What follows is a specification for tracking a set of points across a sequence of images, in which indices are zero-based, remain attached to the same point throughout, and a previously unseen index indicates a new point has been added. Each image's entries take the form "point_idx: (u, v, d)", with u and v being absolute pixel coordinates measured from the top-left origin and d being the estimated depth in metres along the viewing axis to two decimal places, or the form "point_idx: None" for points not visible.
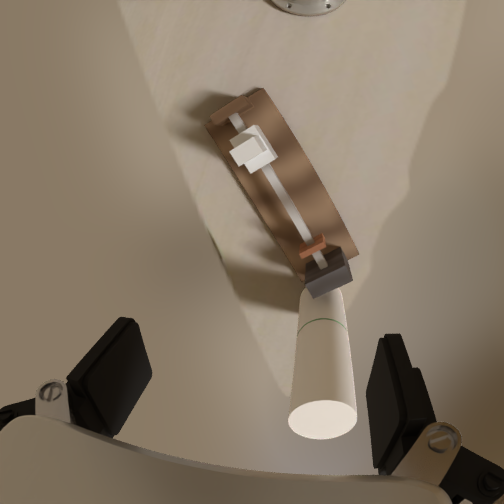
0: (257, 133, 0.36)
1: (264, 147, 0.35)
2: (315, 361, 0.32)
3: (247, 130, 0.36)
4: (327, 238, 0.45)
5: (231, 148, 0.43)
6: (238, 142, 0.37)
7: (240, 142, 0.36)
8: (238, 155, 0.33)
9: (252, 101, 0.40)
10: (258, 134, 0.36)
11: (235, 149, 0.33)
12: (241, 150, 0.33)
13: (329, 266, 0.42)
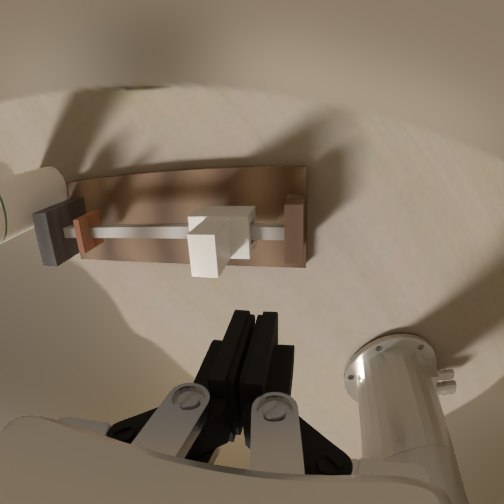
0: (235, 256, 0.26)
1: None
2: None
3: (246, 247, 0.25)
4: None
5: (252, 183, 0.29)
6: (237, 226, 0.25)
7: (235, 229, 0.25)
8: (201, 243, 0.21)
9: None
10: (233, 257, 0.26)
11: (212, 245, 0.21)
12: (207, 252, 0.21)
13: (63, 241, 0.30)
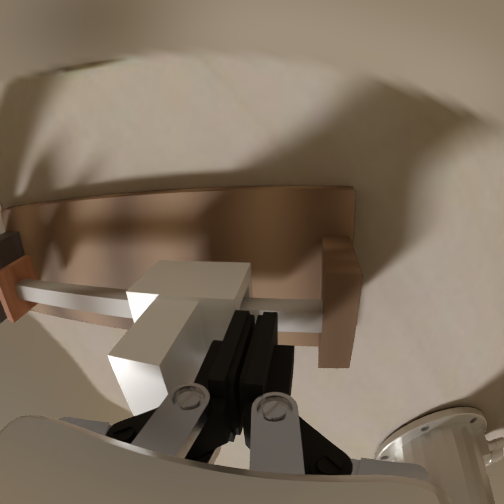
0: None
1: None
2: None
3: None
4: None
5: (259, 217, 0.17)
6: (215, 314, 0.13)
7: (212, 319, 0.13)
8: (137, 375, 0.09)
9: None
10: None
11: (159, 381, 0.09)
12: (150, 389, 0.09)
13: None
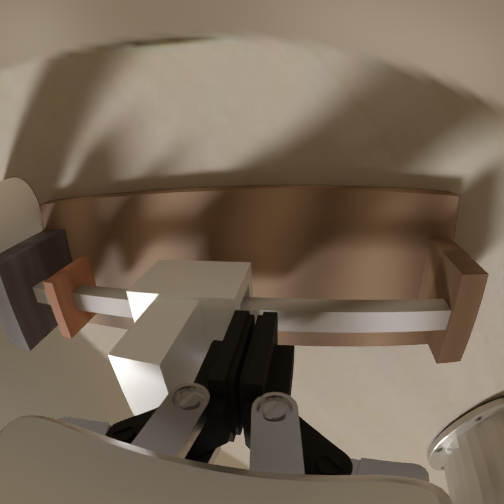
0: None
1: None
2: None
3: None
4: None
5: (374, 218, 0.16)
6: (216, 314, 0.13)
7: (213, 319, 0.13)
8: (137, 374, 0.09)
9: None
10: None
11: (159, 380, 0.09)
12: (151, 388, 0.09)
13: (35, 308, 0.16)
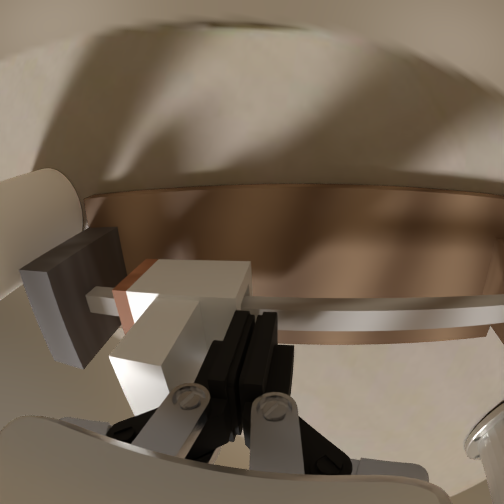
0: None
1: None
2: None
3: None
4: None
5: (455, 220, 0.15)
6: (216, 314, 0.12)
7: (213, 318, 0.13)
8: (138, 375, 0.09)
9: None
10: None
11: (161, 381, 0.09)
12: (152, 389, 0.09)
13: (88, 319, 0.15)
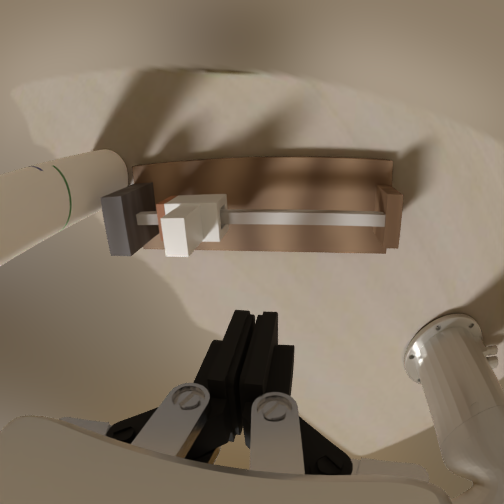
0: (207, 239, 0.28)
1: None
2: (5, 233, 0.17)
3: (216, 230, 0.28)
4: None
5: (344, 173, 0.29)
6: (208, 211, 0.27)
7: (206, 214, 0.27)
8: (172, 226, 0.24)
9: None
10: (205, 240, 0.28)
11: (182, 227, 0.23)
12: (178, 233, 0.24)
13: (136, 228, 0.30)
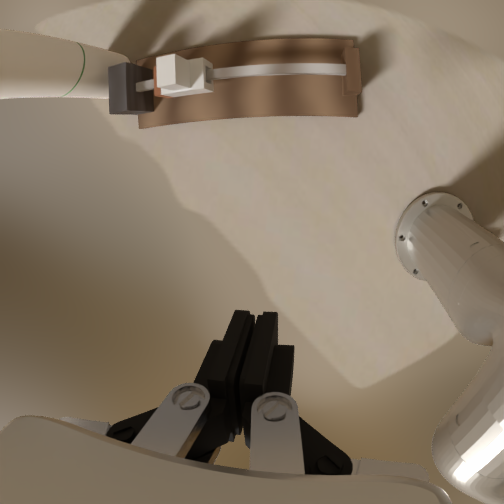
0: (193, 88, 0.29)
1: (172, 89, 0.28)
2: (32, 57, 0.18)
3: (201, 79, 0.29)
4: (167, 100, 0.35)
5: (311, 49, 0.30)
6: (195, 65, 0.28)
7: (194, 67, 0.28)
8: (165, 61, 0.25)
9: (349, 97, 0.32)
10: (192, 88, 0.29)
11: (173, 60, 0.25)
12: (169, 66, 0.25)
13: (134, 93, 0.31)
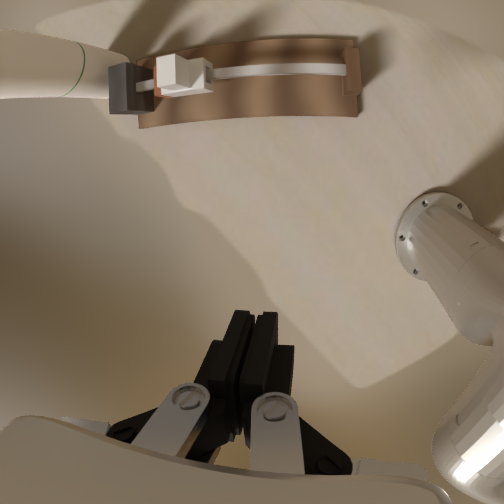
0: (193, 87, 0.29)
1: (172, 89, 0.28)
2: (32, 57, 0.18)
3: (201, 79, 0.29)
4: (167, 100, 0.35)
5: (311, 49, 0.30)
6: (195, 65, 0.28)
7: (194, 67, 0.28)
8: (165, 61, 0.25)
9: (349, 97, 0.32)
10: (192, 88, 0.29)
11: (173, 60, 0.25)
12: (169, 66, 0.25)
13: (134, 93, 0.31)
